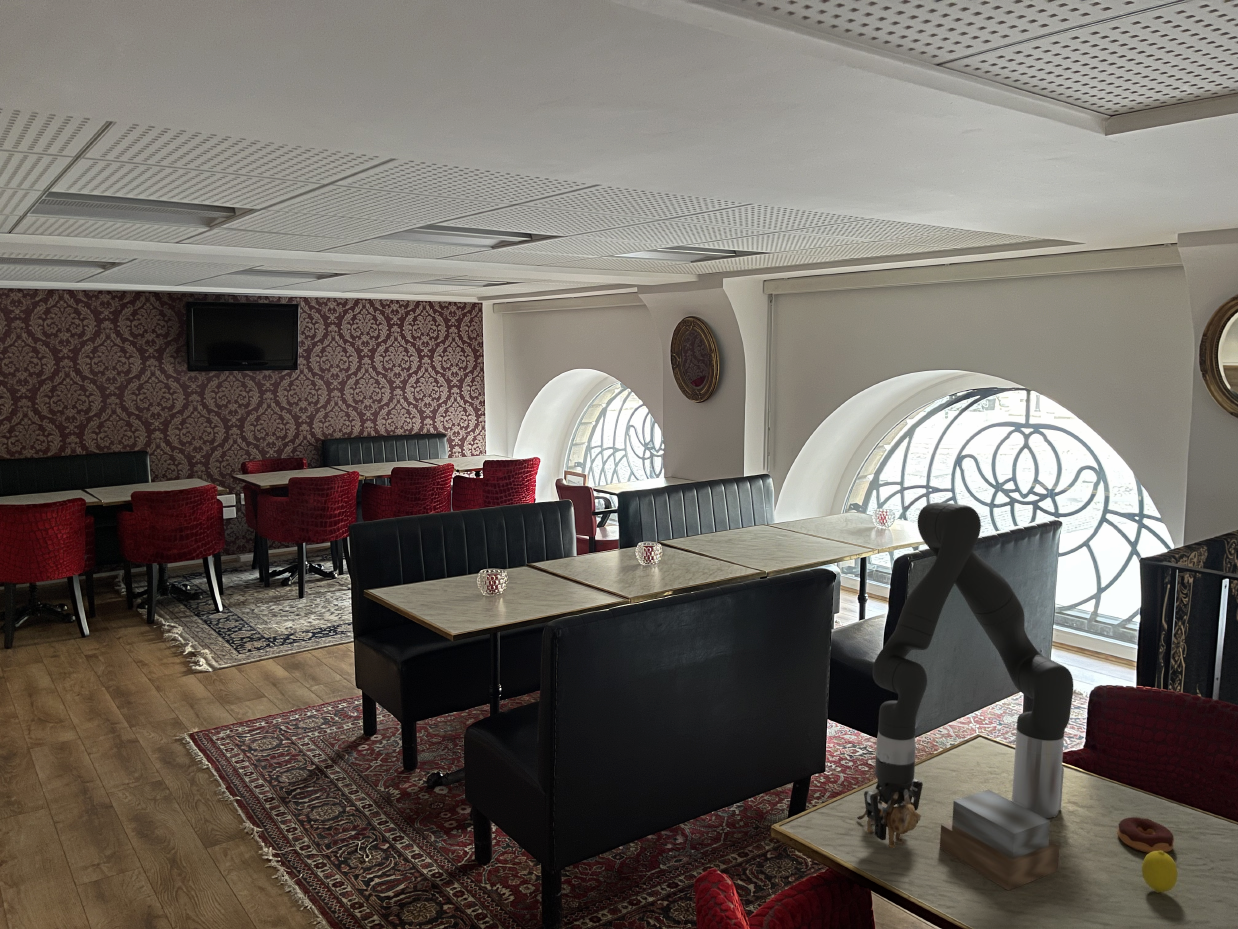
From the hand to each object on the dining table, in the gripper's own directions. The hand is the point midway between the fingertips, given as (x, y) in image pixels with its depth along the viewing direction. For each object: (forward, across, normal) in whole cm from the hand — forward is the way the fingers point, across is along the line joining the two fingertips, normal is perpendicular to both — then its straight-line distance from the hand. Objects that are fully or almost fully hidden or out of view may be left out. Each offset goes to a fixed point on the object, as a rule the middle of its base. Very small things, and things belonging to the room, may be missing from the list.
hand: (891, 834), depth 183 cm
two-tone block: (+1, -13, +15) cm, 20 cm away
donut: (+1, -45, +24) cm, 51 cm away
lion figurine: (+1, 0, -1) cm, 2 cm away
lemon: (+1, -30, +36) cm, 47 cm away
